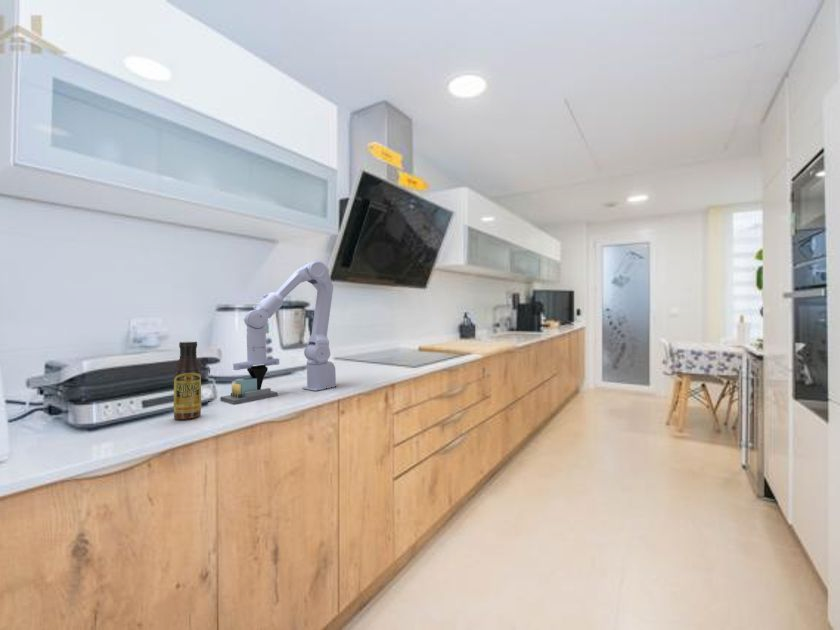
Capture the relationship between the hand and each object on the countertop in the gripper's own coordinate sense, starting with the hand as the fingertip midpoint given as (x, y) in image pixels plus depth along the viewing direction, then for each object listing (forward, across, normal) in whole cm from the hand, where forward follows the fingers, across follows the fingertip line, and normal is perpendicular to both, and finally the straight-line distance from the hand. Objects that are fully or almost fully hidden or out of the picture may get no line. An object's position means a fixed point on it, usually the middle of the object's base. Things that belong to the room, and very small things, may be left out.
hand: (258, 389), depth 128 cm
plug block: (+1, +4, 0) cm, 4 cm away
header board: (+2, +3, 0) cm, 4 cm away
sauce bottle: (+2, +24, +8) cm, 25 cm away
